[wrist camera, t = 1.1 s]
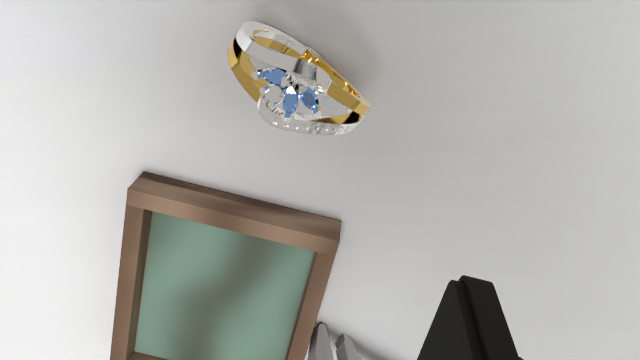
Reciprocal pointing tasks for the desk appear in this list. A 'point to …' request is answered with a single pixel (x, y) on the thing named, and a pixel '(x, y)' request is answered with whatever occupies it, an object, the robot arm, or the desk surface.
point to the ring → (292, 82)
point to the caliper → (321, 349)
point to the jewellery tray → (217, 275)
